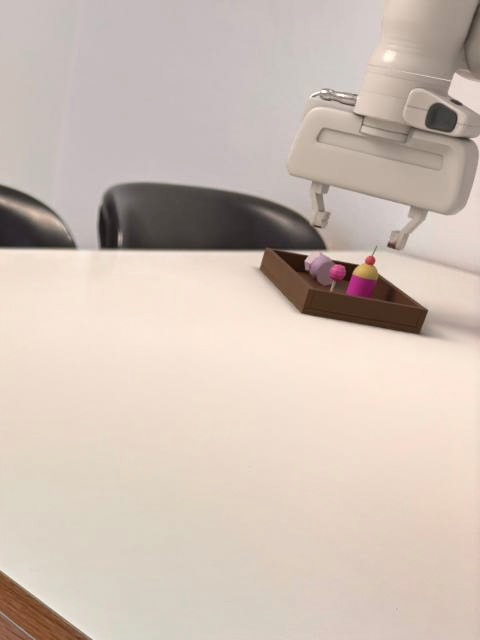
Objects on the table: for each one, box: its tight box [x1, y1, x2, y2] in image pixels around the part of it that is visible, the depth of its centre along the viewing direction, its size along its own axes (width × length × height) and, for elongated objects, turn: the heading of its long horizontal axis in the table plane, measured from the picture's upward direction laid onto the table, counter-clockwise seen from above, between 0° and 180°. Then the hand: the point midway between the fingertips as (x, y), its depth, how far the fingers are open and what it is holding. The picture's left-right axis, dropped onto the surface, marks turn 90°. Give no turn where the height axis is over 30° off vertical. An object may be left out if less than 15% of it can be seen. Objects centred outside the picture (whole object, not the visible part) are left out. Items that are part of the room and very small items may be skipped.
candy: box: [305, 245, 379, 298], centre depth 123 cm, size 18×8×6 cm, turn 0°
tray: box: [259, 247, 429, 334], centre depth 124 cm, size 13×21×3 cm, turn 0°
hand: (355, 237), depth 121 cm, fingers open, 8 cm apart
